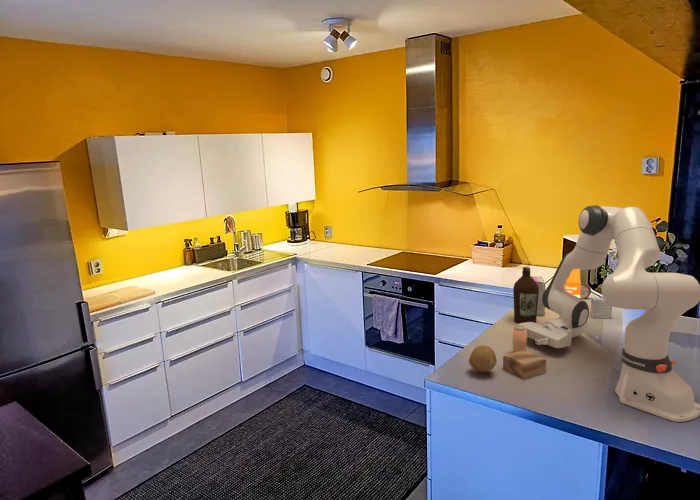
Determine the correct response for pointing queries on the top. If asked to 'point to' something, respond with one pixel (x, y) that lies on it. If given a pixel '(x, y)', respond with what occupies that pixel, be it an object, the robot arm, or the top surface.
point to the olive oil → (525, 298)
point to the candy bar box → (540, 295)
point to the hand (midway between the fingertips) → (526, 338)
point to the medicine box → (600, 308)
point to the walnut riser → (524, 364)
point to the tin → (584, 290)
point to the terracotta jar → (519, 338)
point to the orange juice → (573, 283)
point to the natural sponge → (482, 358)
